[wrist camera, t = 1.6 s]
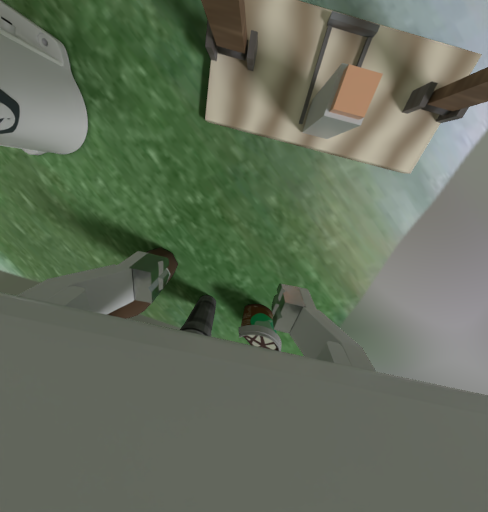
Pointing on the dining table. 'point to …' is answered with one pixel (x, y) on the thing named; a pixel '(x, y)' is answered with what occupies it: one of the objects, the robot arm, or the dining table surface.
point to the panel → (319, 72)
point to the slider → (342, 101)
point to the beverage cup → (201, 317)
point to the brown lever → (228, 26)
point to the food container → (259, 327)
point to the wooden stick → (460, 94)
